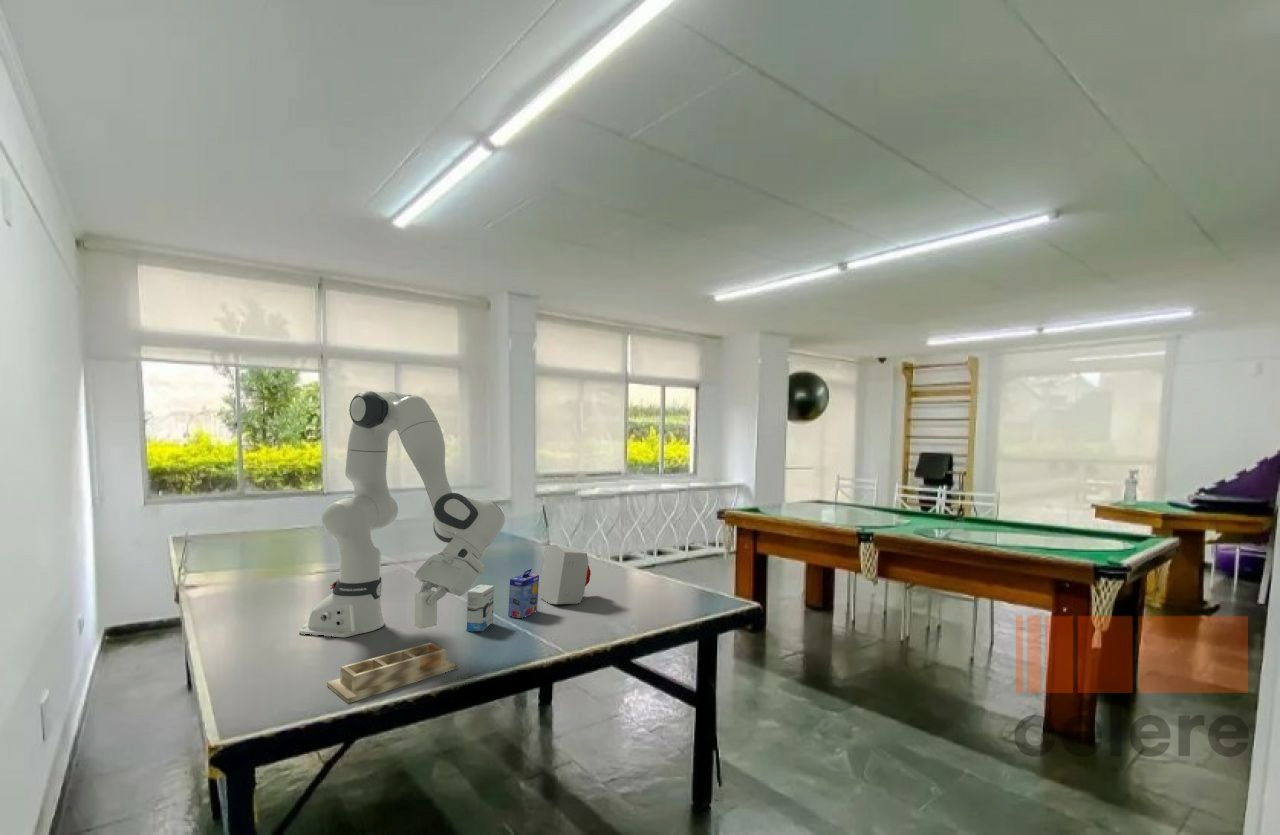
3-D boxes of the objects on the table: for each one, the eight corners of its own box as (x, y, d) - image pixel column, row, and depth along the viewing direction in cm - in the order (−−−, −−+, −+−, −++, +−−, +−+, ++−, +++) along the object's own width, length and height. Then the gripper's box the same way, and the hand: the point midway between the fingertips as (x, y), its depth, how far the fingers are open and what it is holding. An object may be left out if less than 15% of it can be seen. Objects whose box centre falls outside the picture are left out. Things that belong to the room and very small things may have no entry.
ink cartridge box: (522, 619, 182) (523, 573, 182) (507, 617, 184) (508, 571, 184) (538, 611, 191) (539, 567, 191) (524, 609, 193) (525, 565, 194)
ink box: (481, 632, 169) (482, 592, 170) (465, 631, 170) (466, 591, 171) (494, 623, 178) (495, 585, 178) (479, 622, 179) (480, 584, 179)
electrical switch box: (593, 607, 203) (602, 550, 205) (556, 608, 194) (565, 548, 197) (573, 598, 215) (581, 543, 217) (537, 597, 206) (546, 541, 209)
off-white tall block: (414, 625, 143) (415, 593, 143) (429, 622, 146) (430, 590, 146) (421, 629, 140) (421, 595, 141) (436, 625, 143) (437, 592, 144)
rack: (347, 703, 124) (348, 682, 124) (326, 686, 132) (327, 666, 132) (457, 668, 143) (457, 650, 143) (433, 655, 151) (433, 638, 151)
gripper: (432, 543, 156) (395, 587, 148) (473, 554, 142) (435, 602, 134) (447, 558, 159) (412, 601, 151) (488, 569, 145) (452, 617, 138)
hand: (423, 602), depth 143 cm, fingers closed on off-white tall block, 3 cm apart
